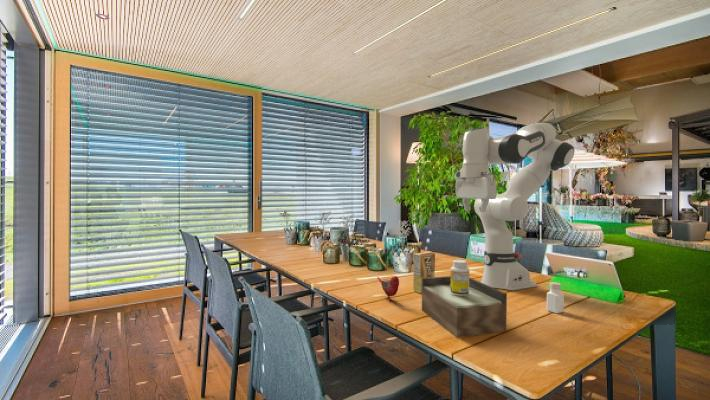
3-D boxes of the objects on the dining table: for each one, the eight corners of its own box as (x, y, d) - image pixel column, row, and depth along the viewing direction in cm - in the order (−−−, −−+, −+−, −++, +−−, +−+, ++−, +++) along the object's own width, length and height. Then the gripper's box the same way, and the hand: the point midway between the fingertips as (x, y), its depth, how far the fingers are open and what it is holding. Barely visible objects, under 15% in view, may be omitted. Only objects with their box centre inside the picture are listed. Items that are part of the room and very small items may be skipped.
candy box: (426, 287, 143) (427, 251, 143) (435, 289, 140) (435, 252, 140) (412, 291, 138) (413, 253, 137) (421, 293, 135) (421, 255, 134)
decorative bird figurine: (395, 306, 120) (395, 278, 119) (373, 292, 136) (374, 267, 136) (402, 305, 121) (402, 277, 120) (380, 291, 137) (380, 267, 137)
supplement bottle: (455, 290, 110) (455, 258, 110) (472, 293, 106) (472, 260, 106) (447, 294, 106) (447, 261, 105) (464, 297, 102) (465, 263, 102)
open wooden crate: (463, 306, 120) (464, 275, 120) (506, 331, 99) (506, 293, 98) (421, 310, 116) (422, 278, 116) (456, 337, 95) (456, 297, 94)
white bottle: (557, 314, 112) (557, 285, 112) (545, 310, 116) (546, 282, 116) (564, 312, 114) (565, 284, 114) (552, 308, 118) (553, 281, 117)
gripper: (501, 171, 114) (501, 213, 114) (467, 174, 133) (466, 209, 134) (485, 171, 112) (484, 213, 112) (452, 174, 132) (452, 209, 132)
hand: (474, 211), depth 123 cm, fingers open, 8 cm apart
